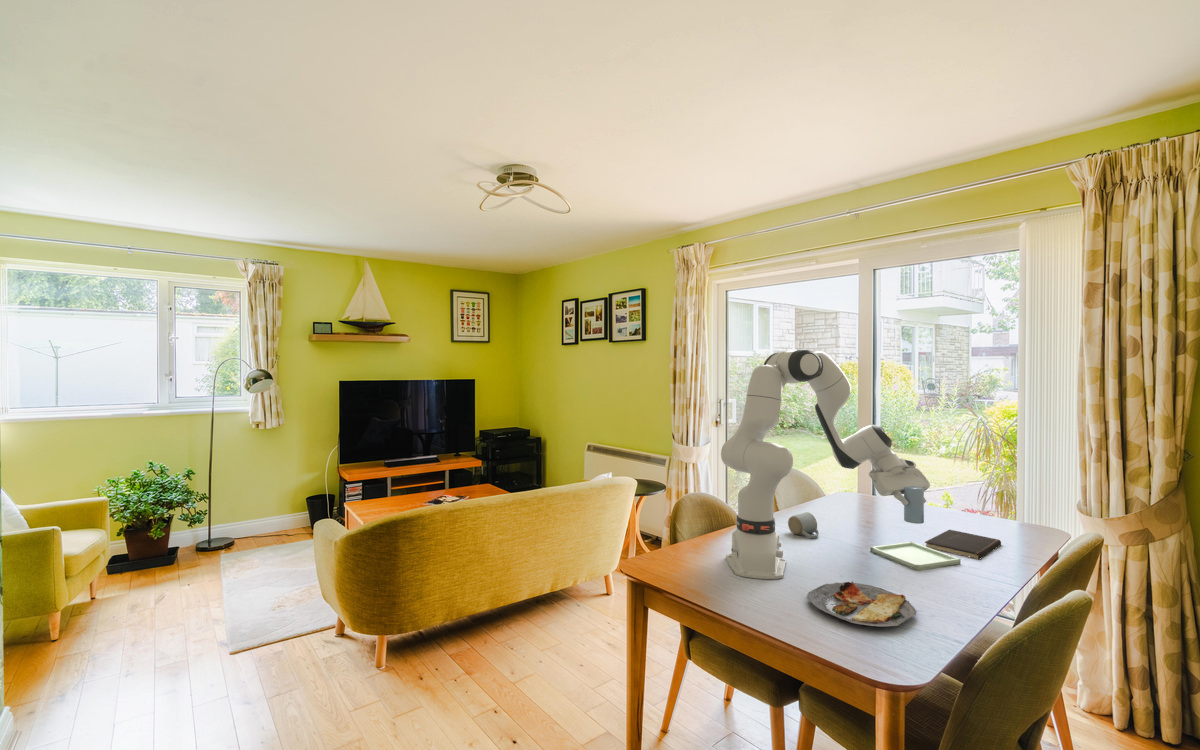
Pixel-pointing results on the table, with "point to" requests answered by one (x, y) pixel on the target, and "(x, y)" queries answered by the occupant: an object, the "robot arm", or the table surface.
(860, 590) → the food plate
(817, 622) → the table surface
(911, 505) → the grey cylinder
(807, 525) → the ceramic mug
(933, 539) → the hardcover book
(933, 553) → the tray
